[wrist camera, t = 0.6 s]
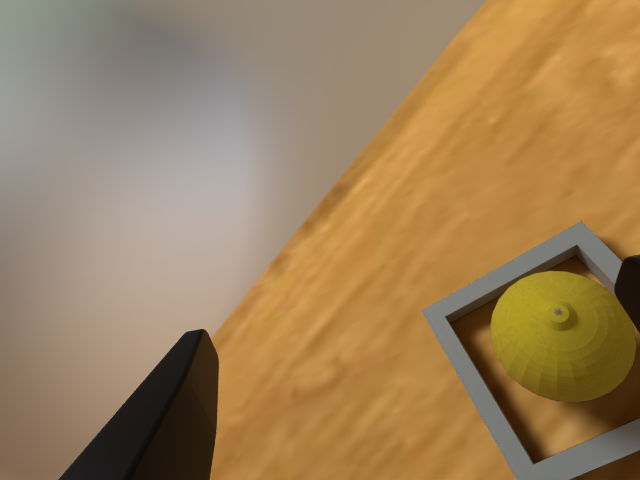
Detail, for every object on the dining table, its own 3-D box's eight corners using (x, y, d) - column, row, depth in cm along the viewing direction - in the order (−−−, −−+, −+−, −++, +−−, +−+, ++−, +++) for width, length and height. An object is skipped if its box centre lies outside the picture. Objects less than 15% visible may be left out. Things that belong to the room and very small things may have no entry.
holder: (745, 403, 17) (760, 400, 16) (528, 494, 19) (526, 497, 18) (580, 232, 23) (581, 221, 22) (427, 316, 25) (421, 310, 24)
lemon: (650, 356, 19) (698, 314, 13) (564, 432, 19) (569, 428, 13) (550, 281, 22) (549, 218, 16) (478, 347, 23) (449, 311, 17)
